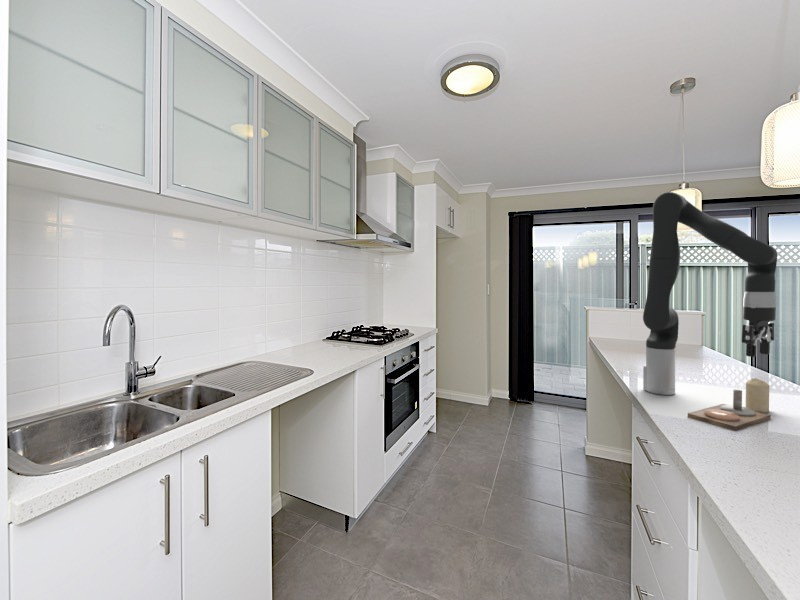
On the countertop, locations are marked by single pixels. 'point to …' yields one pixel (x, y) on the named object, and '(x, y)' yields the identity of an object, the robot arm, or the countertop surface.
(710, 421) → the board
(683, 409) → the countertop surface
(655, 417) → the countertop surface
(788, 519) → the countertop surface
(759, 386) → the candle
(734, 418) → the pad
